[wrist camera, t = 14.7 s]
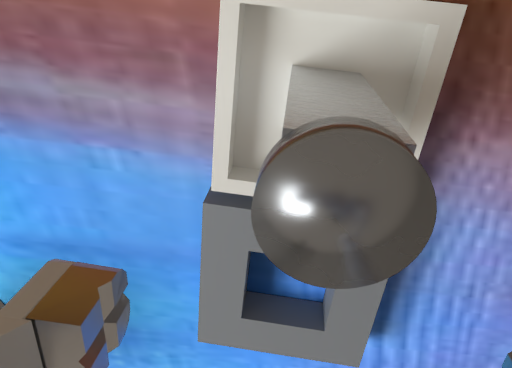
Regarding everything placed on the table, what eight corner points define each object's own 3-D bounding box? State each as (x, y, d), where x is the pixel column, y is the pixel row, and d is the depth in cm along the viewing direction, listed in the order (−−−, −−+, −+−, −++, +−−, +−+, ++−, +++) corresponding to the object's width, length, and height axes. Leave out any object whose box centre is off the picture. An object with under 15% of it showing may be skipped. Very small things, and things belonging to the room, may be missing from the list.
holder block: (393, 207, 26) (403, 231, 24) (353, 336, 32) (358, 367, 30) (212, 182, 27) (202, 202, 25) (206, 313, 33) (197, 341, 30)
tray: (446, 4, 21) (467, 5, 18) (389, 194, 26) (400, 216, 23) (231, -20, 21) (221, -22, 19) (220, 171, 27) (211, 190, 24)
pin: (373, 63, 21) (464, 146, 9) (353, 147, 24) (407, 300, 12) (283, 52, 22) (260, 120, 10) (272, 137, 24) (243, 276, 12)
